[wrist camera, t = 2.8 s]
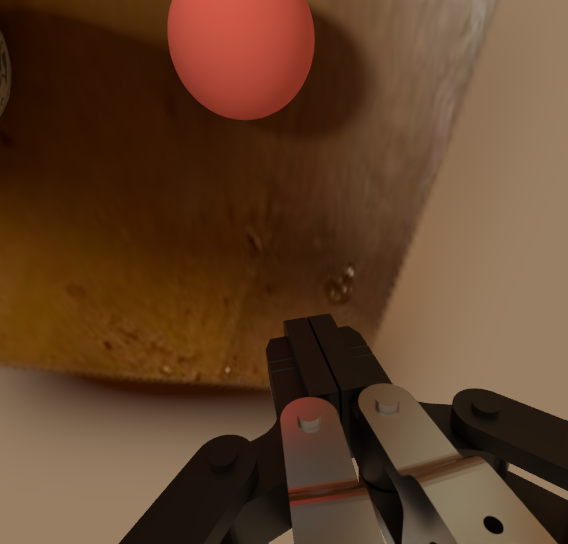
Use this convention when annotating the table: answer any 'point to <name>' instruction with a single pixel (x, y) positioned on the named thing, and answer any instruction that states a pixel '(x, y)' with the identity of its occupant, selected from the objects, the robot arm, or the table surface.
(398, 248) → the table surface
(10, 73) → the cup
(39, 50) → the table surface
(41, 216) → the table surface
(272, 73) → the ball
